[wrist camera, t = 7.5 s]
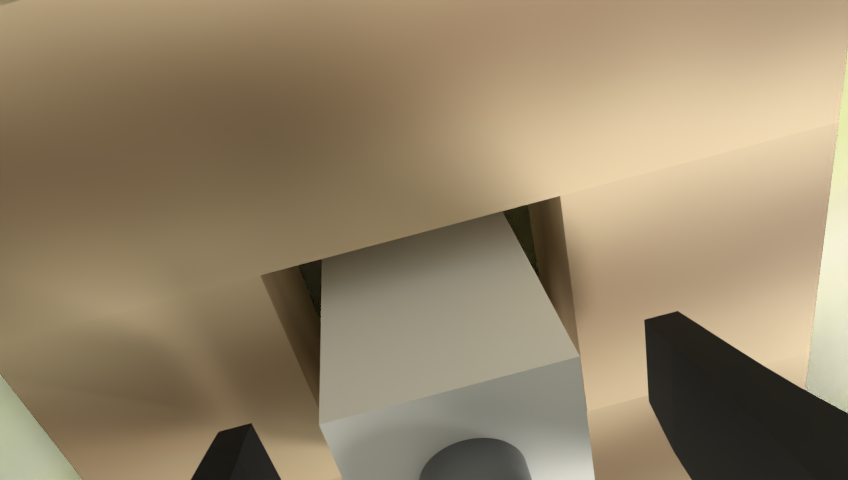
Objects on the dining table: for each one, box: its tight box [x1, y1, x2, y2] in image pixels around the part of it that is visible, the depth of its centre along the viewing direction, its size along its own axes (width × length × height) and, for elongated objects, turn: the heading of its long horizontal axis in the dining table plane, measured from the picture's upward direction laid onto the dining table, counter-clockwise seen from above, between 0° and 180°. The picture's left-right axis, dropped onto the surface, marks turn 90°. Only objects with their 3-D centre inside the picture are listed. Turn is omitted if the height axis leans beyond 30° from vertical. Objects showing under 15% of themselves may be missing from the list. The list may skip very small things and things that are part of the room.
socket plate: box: [0, 0, 848, 480], centre depth 14 cm, size 16×16×3 cm
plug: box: [319, 211, 595, 480], centre depth 12 cm, size 4×4×8 cm
